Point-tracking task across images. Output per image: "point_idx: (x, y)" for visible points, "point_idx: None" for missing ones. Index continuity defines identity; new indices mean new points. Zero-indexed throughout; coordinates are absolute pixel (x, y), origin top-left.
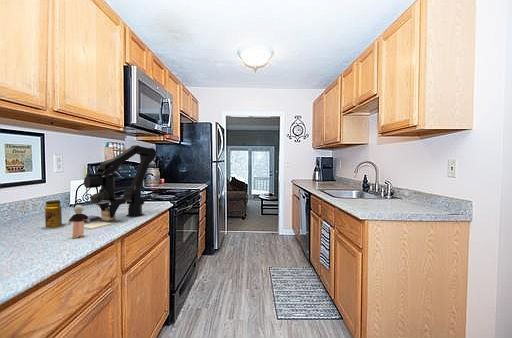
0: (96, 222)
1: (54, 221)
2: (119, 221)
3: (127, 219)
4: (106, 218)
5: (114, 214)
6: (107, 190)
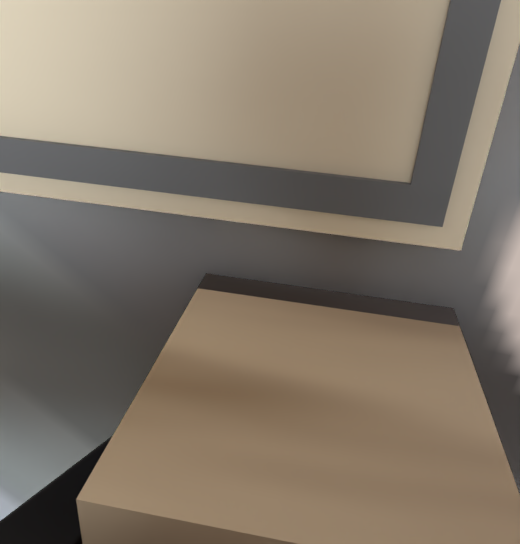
0: (359, 27)
1: None
2: (5, 366)
3: None
4: (226, 326)
5: None
6: None
